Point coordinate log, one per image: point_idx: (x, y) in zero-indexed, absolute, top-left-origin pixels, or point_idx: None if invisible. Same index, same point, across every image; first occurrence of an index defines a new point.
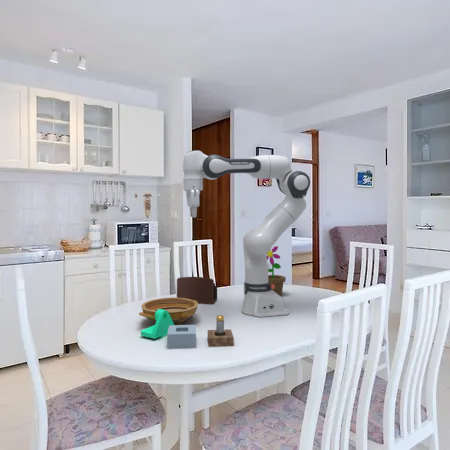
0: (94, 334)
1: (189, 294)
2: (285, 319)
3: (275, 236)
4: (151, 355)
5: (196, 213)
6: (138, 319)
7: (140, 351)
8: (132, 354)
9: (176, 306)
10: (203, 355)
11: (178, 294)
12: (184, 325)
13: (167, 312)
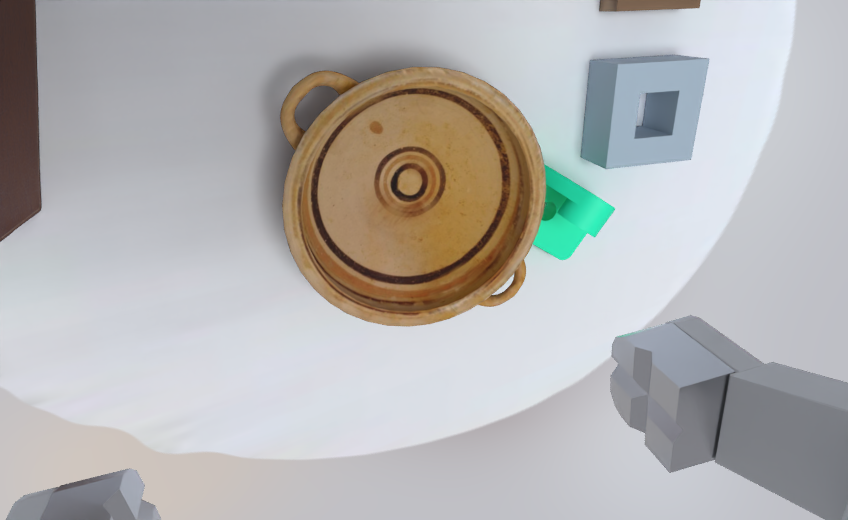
0: (510, 386)
1: (14, 144)
2: None
3: None
4: (695, 185)
5: (757, 360)
6: None
7: (662, 221)
8: (676, 236)
9: (309, 185)
10: (737, 26)
11: (19, 216)
12: (617, 110)
13: (591, 193)
